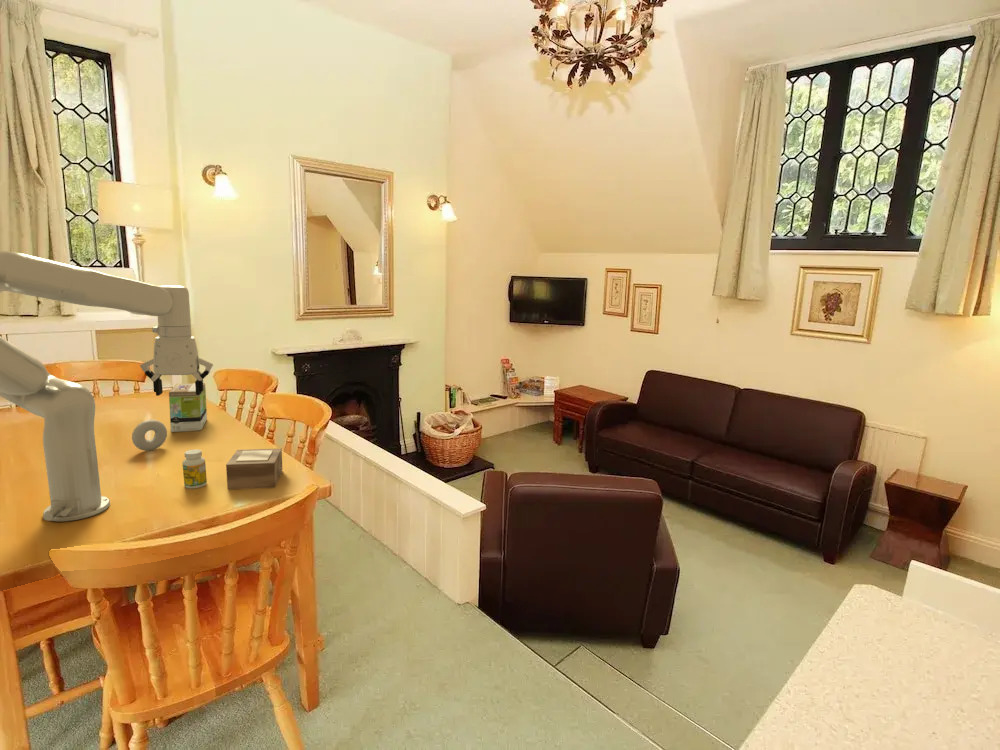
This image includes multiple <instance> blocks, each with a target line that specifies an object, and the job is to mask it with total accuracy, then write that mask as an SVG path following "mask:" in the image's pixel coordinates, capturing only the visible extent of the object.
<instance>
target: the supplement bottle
mask: <svg viewBox="0 0 1000 750" xmlns="http://www.w3.org/2000/svg"><path fill="white" fill-rule="evenodd" d="M202 452H203V451H202V450H201V449H190V450H186V451H185V452H184V458H185V459H183V461H182V473H183V484H184V487H185V488H186V489H190V490H191V489H199V488H200V489H201V488H202V487H204V486H206V485H207V482H208V478H207V469H206V468H207V467H206V459H205V458H204V457H203V456H202V455H203V453H202Z"/></svg>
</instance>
